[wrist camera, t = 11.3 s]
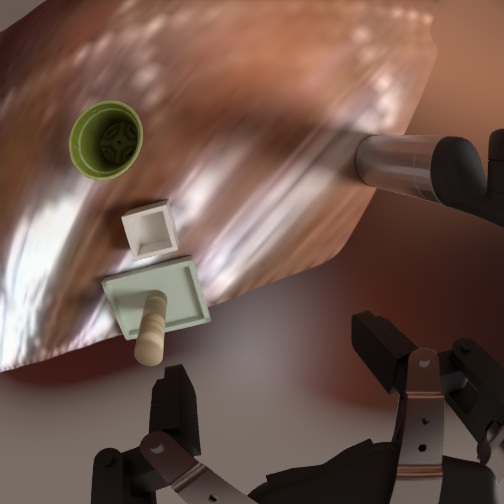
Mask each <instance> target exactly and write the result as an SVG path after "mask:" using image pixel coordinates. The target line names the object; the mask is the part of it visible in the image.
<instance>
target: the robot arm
mask: <svg viewBox="0 0 504 504" xmlns="http://www.w3.org/2000/svg"><path fill="white" fill-rule="evenodd" d="M488 160H489V161H488V179H487V180H486V177H485V174H484V170H483V167H482V163H481V159H480V157H479V154H478V152H477V150H476V148H475V147H474V146H473V144H472V143H471V142H469V141H468V140H467V139H464V138H462V137H451V136H427V135H425V136H424V135H382V136H370V137H367V138H366V139H364V140H363V141H362V142H361V143H360V145H359V147H358V149H357V152H356V168H357V171H358V174H359V176H360V177H361V179H362V180H363V181H364V182H365V183H366V184H368V185H369V186H372V187H376V188H381V189H385V190H388V191H393V192H397V193H401V194H405V195H409V196H412V197H417V198H420V199H424V200H428V201H431V202H435V203H438V204H442V205H445V206H448V207H451V208H455V209H458V210H460V211H464V212H466V213H469V214H472V215H475V216H478V217H480V218H483V219H485V220H487V221H489V222H491V223H494V224H496V225H498V226H500V227H502V228H504V129H498V130H495V131H494V132H492V133H491V135H490V138H489V151H488ZM351 321H352V322H351V324H352V326H351V334H352V335H351V341H352V345H353V348H354V350H355V351H356V353H357V354H358V355H359V357H360V358H361V359H362V360H363V361H364V363H365V364H366V365H367V367H368V368H369V369H370V371H371V372H372V373H373V375H374V376H375V377H376V378H377V380H378V381H379V382H380V384H381V385H382V386H383V388H384V389H385V390H386V391H387V393H388V394H389V395H391V394H393V393H394V392H396V391H397V392H398V393H399V394H400V396H399V401H398V409H397V416H396V422H395V428H394V433H393V437H392V440H391V442H380V443H374V444H373V443H372V441H371V439H367V440H365V441H363V442H361V443H359V444H356V445H354V446H352V447H349V448H347V449H345V450H344V451H342V452H341V453H339V454H338V455H337V456H335V457H334V458H332V459H331V460H329V461H327V462H326V463H324V464H322V465H317V466H308V467H299V468H291V469H288V470H285V471H281V472H277V473H274V474H270V475H266V478H267V482H265V483H263V484H261V485H260V486H258V487H257V488H255V489H254V490H253V491H251V493H250V494H248V495H247V496H246V495H245V494H243V493H242V492H240V491H239V490H237V489H236V488H234V487H233V486H232V485H230V484H229V483H228V482H226V481H225V480H224V479H222V478H221V477H220V476H218V475H217V474H216V473H214V472H213V471H212V470H211V469H209V468H208V467H207V466H205V465H204V464H201V463H200V462H198V461H197V460H196V459H195V458H194V456H198V455H201V448H200V439H199V427H198V415H197V402H196V394H195V390H194V388H193V385H192V383H191V381H190V379H189V377H188V375H187V373H186V371H185V369H184V367H183V365H182V364H177V365H172V366H167V367H165V375H164V378H163V379H158V380H157V381H156V383H155V385H154V387H153V388H152V399H151V409H150V422H149V434H147V435H146V436H145V437H144V438H143V439H142V441H141V443H140V446H138V447H137V448H134V449H131V450H129V451H126V452H123V453H120V452H119V451H118V450H117V449H114V448H106V449H103V450H101V451H100V452H99V453H98V454H97V455H96V456H95V459H94V465H93V476H92V491H91V504H157V503H156V490H158V489H161V488H164V487H167V486H169V485H170V486H171V487H172V489H173V490H174V491H175V492H176V493H177V494H178V495H179V496H180V497H181V498H182V499H183V500H184V501H186V502H187V503H188V504H499V499H498V487H497V483H499V482H500V480H502V479H503V478H504V368H503V367H502V366H500V364H499V363H498V362H497V361H496V360H494V359H493V358H492V357H491V356H490V355H489V354H488V353H487V352H486V351H485V350H484V349H483V348H482V347H481V346H479V345H478V344H477V343H476V342H475V341H474V340H472V339H469V338H461V339H458V340H456V341H455V342H454V344H453V346H452V350H448V351H445V352H441V353H435V352H434V351H432V350H430V349H426V348H420V349H419V348H418V347H417V346H416V345H415V344H413V342H412V341H411V340H410V339H408V338H407V337H406V336H405V335H404V334H403V333H402V332H400V330H399V329H398V328H397V327H395V325H394V324H392V323H391V322H390V321H389V320H388V319H385V318H383V317H381V316H377V317H375V316H374V315H373V314H372V313H371V312H370V311H368V310H364V311H362V312H359V313H356V314H354V315H352V319H351ZM467 380H469V381H470V382H471V383H472V384H473V385H474V387H475V388H476V389H477V390H478V392H477V391H476V390H475V388H474V387H473V386H472V385H471V384H470V383H469V382H468V381H467ZM445 401H446V402H447V403H448V404H449V406H450V407H451V408H452V409H453V411H454V412H455V413H456V415H457V416H458V417H459V418H460V420H461V421H462V422H463V424H464V425H465V426H466V428H467V429H468V430H469V432H470V433H471V434H472V436H473V437H474V438H475V440H476V441H477V443H478V444H477V454H478V455H477V459H478V460H479V461H480V463H479V462H473V461H468V460H463V459H458V458H453V457H449V456H444V455H442V454H443V441H444V420H445V419H444V418H445Z"/></svg>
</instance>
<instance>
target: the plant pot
mask: <svg viewBox="0 0 504 504" xmlns="http://www.w3.org/2000/svg"><path fill="white" fill-rule="evenodd" d="M112 128H115V130H113V131H112V132H111V133H110V134H109V135H108V132H109V131H110V130H111V129H112ZM129 128H131V129H133V131H134V132H135V135H133V133H132V132H131V131H130V130H129ZM118 141H121V144H119V143H118ZM142 142H143V128H142V123H141V121H140V118H139V117H138V115H137V113H136V112H135V111H134V110H133V109H132V108H131V107H130V106H128V105H126V104H124V103H122V102H119V101H102V102H99V103H96V104H94V105H92V106H90V107H89V108H88V109H86V110H85V111H84V112H83V113H82V114H81V115H80V116H79V117H78V119H77V120H76V122H75V124H74V126H73V128H72V130H71V134H70V138H69V152H70V156H71V160H72V162H73V164H74V165H75V167H76V168H77V169H78V171H79V172H81V173H82V174H83V175H85V176H86V177H88V178H91V179H95V180H108V179H112V178H115V177H117V176H119V175H121V174H122V173H124V172H125V171H126V170H127V169H128V168H129V167H130V166H131V165H132V164H133V162H134V161H135V160H136V158H137V156H138V154H139V152H140V149H141V146H142ZM106 150H107V151H108V152H109V153H110V155H112V157H109V156H108V155H107V154H106ZM132 150H133V154H131V155H130V156H129V157H126V155H128V154H129V153H130V152H131V151H132Z"/></svg>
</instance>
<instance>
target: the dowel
mask: <svg viewBox="0 0 504 504" xmlns="http://www.w3.org/2000/svg"><path fill="white" fill-rule="evenodd" d="M166 309H167V296H166V295H165V293H163V292H162V291H160V290H153V291H151V292H149V293H148V295H147V297H146V302H145V306H144V310H143V314H142V319H141V323H140V328H139V332H138V337H137V342H136V347H135V352H134V355H135V358H136V359H137V360H138V361H139V362H140V363H141V364H144V365H147V366H154V365H157V364H159V363H160V362H161V361H162V358H163V343H164V331H165V319H166Z"/></svg>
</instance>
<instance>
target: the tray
mask: <svg viewBox="0 0 504 504" xmlns="http://www.w3.org/2000/svg"><path fill="white" fill-rule="evenodd" d="M101 284H102V286H103V289H104V291H105V294H106V296H107V299H108V301H109V303H110V306H111V308H112V310H113V312H114V315H115V317H116V319H117V321H118V323H119V326H120V328H121V330H122V332H123V334H124V336H125V338H126V340H130V339H135V338H137V337H138V332H139V328H140V323H141V319H142V314H143V310H144V306H145V302H146V297H147V295H148V293H149V292H151V291H153V290H160V291H162V292H163V293H165V295H166V296H167V309H166V319H165V331H164V332H167V331H172V330H177V329H181V328H185V327H190V326H194V325H198V324H202V323H206V322H210V321H211V320H210V314H209V311H208V308H207V304H206V301H205V298H204V294H203V291H202V287H201V284H200V280H199V277H198V273H197V269H196V266H195V262H194V258H193V255H191V256H187V257H183V258H179V259H175V260H171V261H167V262H163V263H159V264H155V265H151V266H147V267H143V268H139V269H136V270H132V271H128V272H124V273H120V274H116V275H112V276H108V277H105V278H104V279H103V280H102V282H101Z"/></svg>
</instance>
